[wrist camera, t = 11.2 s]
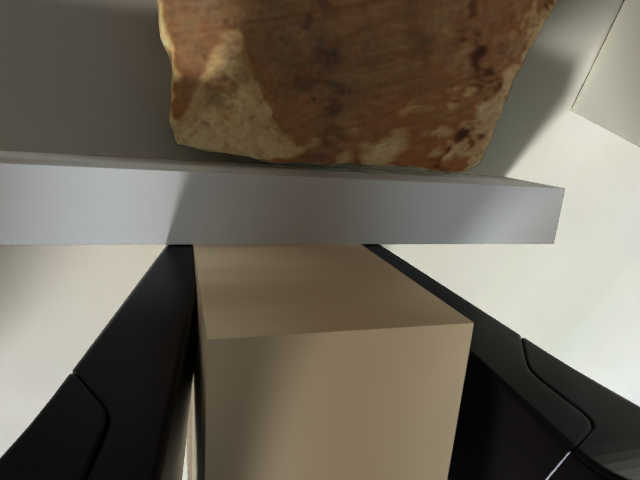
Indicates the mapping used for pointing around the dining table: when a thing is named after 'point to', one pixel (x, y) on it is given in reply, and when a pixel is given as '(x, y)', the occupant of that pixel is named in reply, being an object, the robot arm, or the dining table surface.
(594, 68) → the tray
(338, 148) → the shard
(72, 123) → the dining table surface
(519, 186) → the scraper
